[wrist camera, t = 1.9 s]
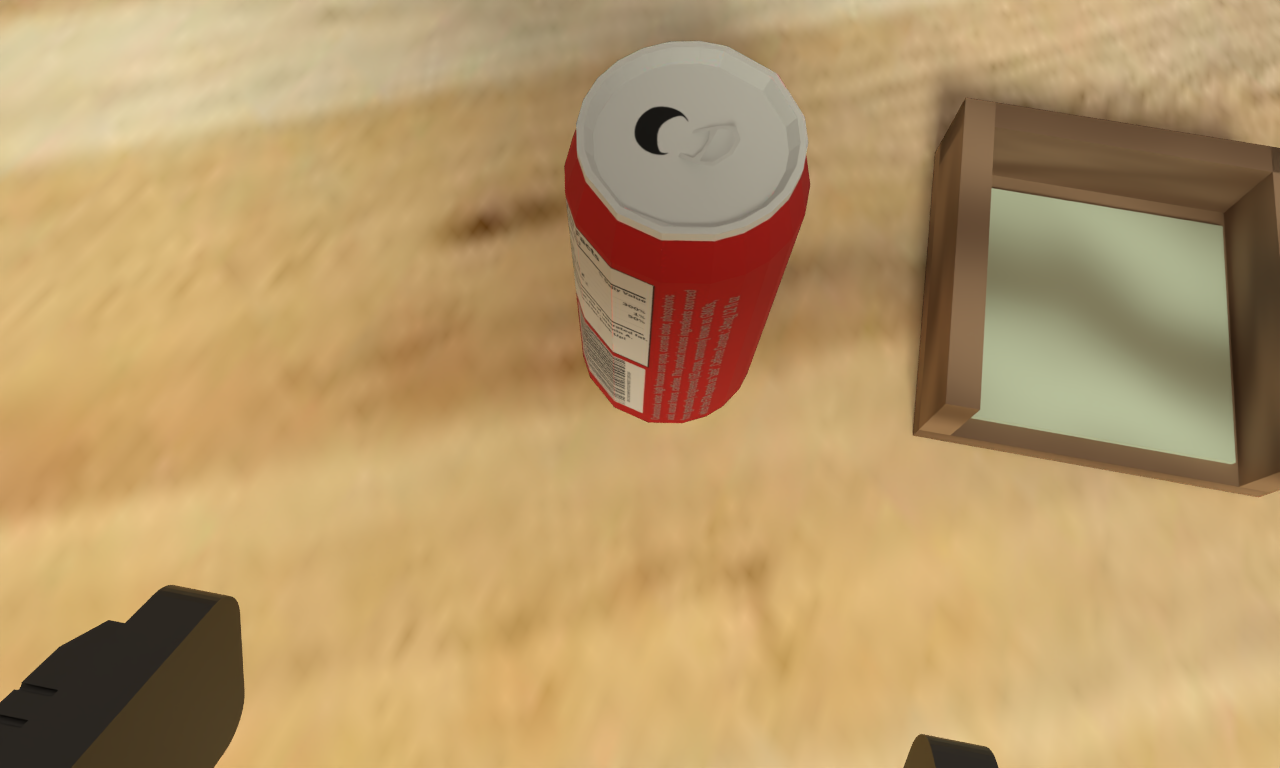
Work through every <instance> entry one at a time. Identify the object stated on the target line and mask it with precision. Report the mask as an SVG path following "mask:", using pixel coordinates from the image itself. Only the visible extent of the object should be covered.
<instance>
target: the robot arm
mask: <svg viewBox="0 0 1280 768" xmlns="http://www.w3.org/2000/svg"><path fill="white" fill-rule="evenodd" d="M243 704H244V675H243V658H242V641H241V624H240V610H239V605H238V602H237V601H236V599H235V598H233V597H231V596H226V595H221V594H216V593H211V592H206V591H201V590H196V589H190V588H185V587H180V586H175V585H168V586H165V587H163V588H161V589H160V590H158V591H157V592H156V593H155V594H154V595H153V596H152V597H151V598H150V599H149V600H148V601H147V602H146V603H145V604H144V605H143V606H142V607H141V608H140V609H139V610H138V611H137V612H136V613H135V614H134V615H133V616H132V617H131V618H130V619H129V620H128V621H127V622H126V623H120V622H115V621H110V620H108V621H106V622H104V623H102V624H101V625H99V626H97V627H95V628H93V629H91V630H90V631H88V632H86V633H84V634H82V635H80V636H79V637H77V638H75V639H73V640H71V641H69V642H68V643H66V644H64V645H62V646H60V647H59V648H58V649H57V650H56V651H55V652H53V653H52V654H51V655H50V656H49V657H48V658H47V659H46V660H45V661H44V662H43V663H42V664H41V665H40V666H39V667H38V668H36V669H35V670H34V671H33V672H32V673H31V674H30V675H29V676H28V677H27V678H26V679H25V680H24V681H23V682H22V685H21V687H20V689H19V690H13V691H12V692H11V693H10V694H9V695H8V696H7V697H6V698H5V699H4V700H2V701H1V702H0V768H214V766H215V765H216V764H217V762H218V761H219V759H220V758H221V756H222V755H223V753H224V752H225V750H226V749H227V747H228V746H229V744H230V742H231V740H232V738H233V736H234V734H235V732H236V729H237V727H238V724H239V721H240V718H241V714H242V710H243ZM904 768H998V765H997V762H996V759H995V757H994V755H993V753H992V751H991V750H990V749H989V748H987V747H985V746H980V745H975V744H970V743H965V742H959V741H954V740H949V739H944V738H939V737H934V736H929V735H924V734H920V735H918V736H917V737H916V738H915V740H914V742H913V744H912V746H911V749H910V752H909V754H908V757H907V760H906V762H905V765H904Z"/></svg>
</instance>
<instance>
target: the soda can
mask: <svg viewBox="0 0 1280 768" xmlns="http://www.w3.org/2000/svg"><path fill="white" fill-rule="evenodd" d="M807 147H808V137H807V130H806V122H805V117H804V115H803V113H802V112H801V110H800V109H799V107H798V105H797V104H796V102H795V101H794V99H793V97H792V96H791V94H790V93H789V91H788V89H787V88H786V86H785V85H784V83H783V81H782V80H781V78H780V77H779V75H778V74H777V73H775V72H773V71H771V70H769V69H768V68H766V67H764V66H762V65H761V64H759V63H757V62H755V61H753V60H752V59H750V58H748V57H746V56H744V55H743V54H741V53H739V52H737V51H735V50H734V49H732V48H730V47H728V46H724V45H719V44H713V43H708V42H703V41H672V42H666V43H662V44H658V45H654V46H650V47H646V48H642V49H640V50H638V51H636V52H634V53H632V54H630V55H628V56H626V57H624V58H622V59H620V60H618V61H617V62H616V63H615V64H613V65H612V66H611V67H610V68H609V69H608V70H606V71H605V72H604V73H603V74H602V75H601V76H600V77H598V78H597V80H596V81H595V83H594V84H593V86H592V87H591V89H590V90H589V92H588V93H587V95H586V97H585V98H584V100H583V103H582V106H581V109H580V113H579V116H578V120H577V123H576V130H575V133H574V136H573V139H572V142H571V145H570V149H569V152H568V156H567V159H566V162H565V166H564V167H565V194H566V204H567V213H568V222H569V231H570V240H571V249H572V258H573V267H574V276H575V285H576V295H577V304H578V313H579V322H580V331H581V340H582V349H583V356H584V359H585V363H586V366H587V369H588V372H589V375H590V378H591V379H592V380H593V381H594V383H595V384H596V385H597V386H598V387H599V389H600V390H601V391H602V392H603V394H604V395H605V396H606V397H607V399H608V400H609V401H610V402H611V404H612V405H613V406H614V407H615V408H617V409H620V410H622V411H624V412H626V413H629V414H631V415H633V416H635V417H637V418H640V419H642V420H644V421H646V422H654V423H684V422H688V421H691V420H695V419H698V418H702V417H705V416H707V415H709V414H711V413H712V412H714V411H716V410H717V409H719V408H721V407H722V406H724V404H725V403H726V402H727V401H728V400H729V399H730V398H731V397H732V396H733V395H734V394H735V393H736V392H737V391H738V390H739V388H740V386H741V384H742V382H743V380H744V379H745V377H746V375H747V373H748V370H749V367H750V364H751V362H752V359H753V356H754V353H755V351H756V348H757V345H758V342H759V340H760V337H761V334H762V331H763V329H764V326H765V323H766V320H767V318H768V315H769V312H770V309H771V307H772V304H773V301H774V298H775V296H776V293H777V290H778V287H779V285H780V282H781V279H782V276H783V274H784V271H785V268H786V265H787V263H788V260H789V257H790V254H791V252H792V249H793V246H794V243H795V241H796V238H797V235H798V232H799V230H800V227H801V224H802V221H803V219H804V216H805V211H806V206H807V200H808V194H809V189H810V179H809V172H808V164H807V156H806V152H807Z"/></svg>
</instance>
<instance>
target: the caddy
mask: <svg viewBox="0 0 1280 768" xmlns="http://www.w3.org/2000/svg"><path fill="white" fill-rule="evenodd" d="M913 435H914V436H919V437H925V438H931V439H936V440H942V441H947V442H953V443H959V444H964V445H970V446H975V447H981V448H987V449H992V450H998V451H1003V452H1009V453H1015V454H1020V455H1026V456H1031V457H1037V458H1043V459H1048V460H1054V461H1059V462H1065V463H1071V464H1076V465H1082V466H1087V467H1093V468H1099V469H1104V470H1110V471H1115V472H1121V473H1126V474H1132V475H1138V476H1143V477H1149V478H1154V479H1160V480H1166V481H1171V482H1177V483H1182V484H1188V485H1194V486H1199V487H1205V488H1210V489H1216V490H1222V491H1227V492H1233V493H1238V494H1244V495H1250V496H1255V497H1261V496H1264V495H1267V494H1270V493H1273V492H1275V491H1278V490H1280V148H1277V147H1271V146H1264V145H1258V144H1252V143H1246V142H1239V141H1233V140H1227V139H1221V138H1214V137H1208V136H1202V135H1196V134H1190V133H1183V132H1177V131H1171V130H1165V129H1158V128H1152V127H1146V126H1140V125H1133V124H1127V123H1121V122H1115V121H1109V120H1102V119H1096V118H1090V117H1084V116H1077V115H1071V114H1065V113H1059V112H1052V111H1046V110H1040V109H1034V108H1028V107H1021V106H1015V105H1009V104H1003V103H996V102H990V101H984V100H978V99H972V98H965V100H964V102H963V104H962V105H961V107H960V109H959V111H958V113H957V114H956V116H955V118H954V120H953V122H952V123H951V125H950V127H949V129H948V131H947V132H946V134H945V136H944V138H943V140H942V141H941V143H940V145H939V147H938V149H937V150H936V152H935V162H934V174H933V187H932V200H931V213H930V225H929V238H928V251H927V263H926V276H925V289H924V302H923V314H922V327H921V340H920V353H919V365H918V378H917V391H916V404H915V416H914V429H913Z"/></svg>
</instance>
